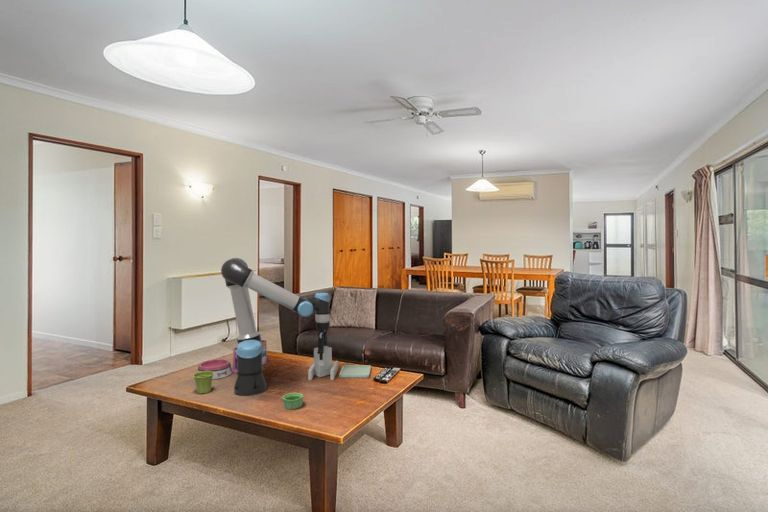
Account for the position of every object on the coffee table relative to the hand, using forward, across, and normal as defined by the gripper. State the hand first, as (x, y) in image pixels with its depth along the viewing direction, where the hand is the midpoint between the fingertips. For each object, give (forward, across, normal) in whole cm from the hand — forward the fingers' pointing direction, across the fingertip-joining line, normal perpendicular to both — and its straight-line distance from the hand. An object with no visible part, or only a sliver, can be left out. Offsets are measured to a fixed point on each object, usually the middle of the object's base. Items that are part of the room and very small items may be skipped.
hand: (323, 362), depth 227 cm
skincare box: (+7, 0, 0) cm, 7 cm away
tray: (+7, +4, -17) cm, 19 cm away
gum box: (+7, +14, +45) cm, 47 cm away
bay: (+7, +2, 0) cm, 7 cm away
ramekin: (+7, -42, +6) cm, 44 cm away
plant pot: (+7, -25, +54) cm, 60 cm away
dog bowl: (+8, +1, +60) cm, 60 cm away
